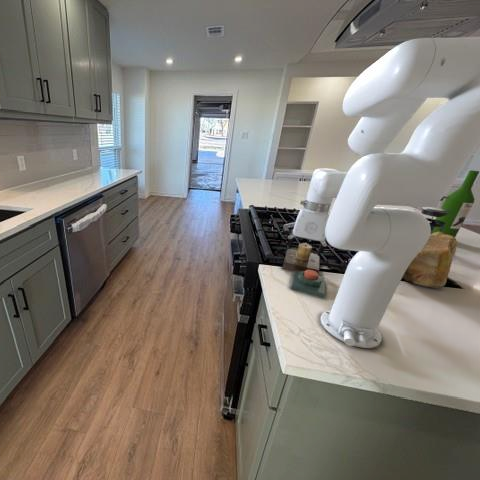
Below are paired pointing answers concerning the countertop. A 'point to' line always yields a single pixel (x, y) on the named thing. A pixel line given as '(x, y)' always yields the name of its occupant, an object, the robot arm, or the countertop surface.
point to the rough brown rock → (432, 261)
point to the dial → (304, 252)
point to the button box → (308, 284)
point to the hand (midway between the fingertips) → (303, 251)
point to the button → (310, 274)
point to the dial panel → (300, 262)
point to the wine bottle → (457, 206)
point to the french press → (435, 215)
